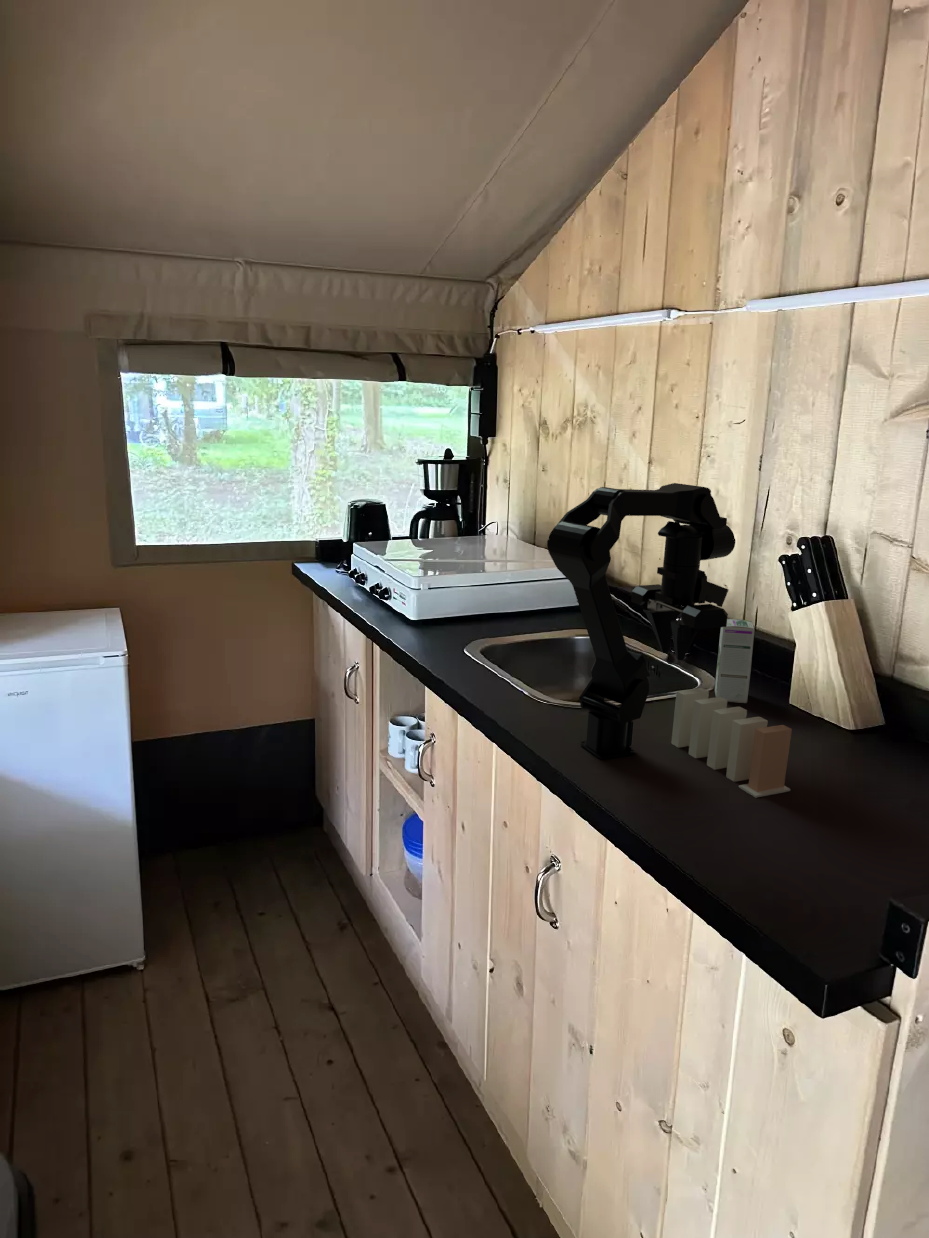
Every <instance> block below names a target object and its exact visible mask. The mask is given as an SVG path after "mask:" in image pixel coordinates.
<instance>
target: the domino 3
mask: <svg viewBox="0 0 929 1238" xmlns="http://www.w3.org/2000/svg"><path fill="white" fill-rule="evenodd" d="M747 714H748V710H747V709H745V708H743V707H741V706H734V707H733V706H732V707H727V708H724V709H717V710H713V714H712V723H711V732H710V741H709V750H708V756H707V759H706V767H707V766H708V767H709V768H711V769H712V770H713V771H715V770H720V769H727V764H728V756H729V747H730V739H731V730H732V722H733V720H739V719H746V718H747Z"/></svg>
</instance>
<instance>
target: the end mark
mask: <svg viewBox="0 0 929 1238" xmlns="http://www.w3.org/2000/svg"><path fill="white" fill-rule="evenodd" d="M748 785H749V783H745V784H740V785H739V784H738V788H739V789H740V790H742V791H744V792H746V793H747V794H748V795H750V796H752V797H754V798H760V797H766V796H771V795H772V796H773V795H777V794H782V793H787V792H791V788H790V787H788V786H786V785H784V787H781V788H776V789H770V790H764V791H759V792H756V791H754V790H753V789H751V788H750V787H748Z"/></svg>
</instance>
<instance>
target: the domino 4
mask: <svg viewBox="0 0 929 1238" xmlns="http://www.w3.org/2000/svg"><path fill="white" fill-rule="evenodd" d="M768 722H769V721H768V720H767V719H765V718H763V717H761V716H754V717H746V719H739V720H733V722H732V730H731V739H730V747H729V756H728V764H727V768H726V772H725V773H726V775H725V777H726V778H727V779H729V780H730V781H732V782H735V783H736V782H741V781H747V780H749V777H750V769H751V761H752V753H753V745H754V737H755V729H757V728H764V727H768Z"/></svg>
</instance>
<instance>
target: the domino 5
mask: <svg viewBox="0 0 929 1238" xmlns="http://www.w3.org/2000/svg"><path fill="white" fill-rule="evenodd" d="M792 731H793V729H792V728H791V727H788V726H786V725H784V724H779V725H772V726H771V725H770V726H767V727H764V728H757V729H755V737H754V745H753V753H752V761H751V769H750V777H749V779H748V784H749V785H748V787H750V788H751V789H753V790H754V791H756V792H759V791H764V790H770V789H776V788H781V787H784V786H785V783H786V775H787V774H786V773H787V768H788V767H787V766H788V760H789V752H790V746H791V737H792Z"/></svg>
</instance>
